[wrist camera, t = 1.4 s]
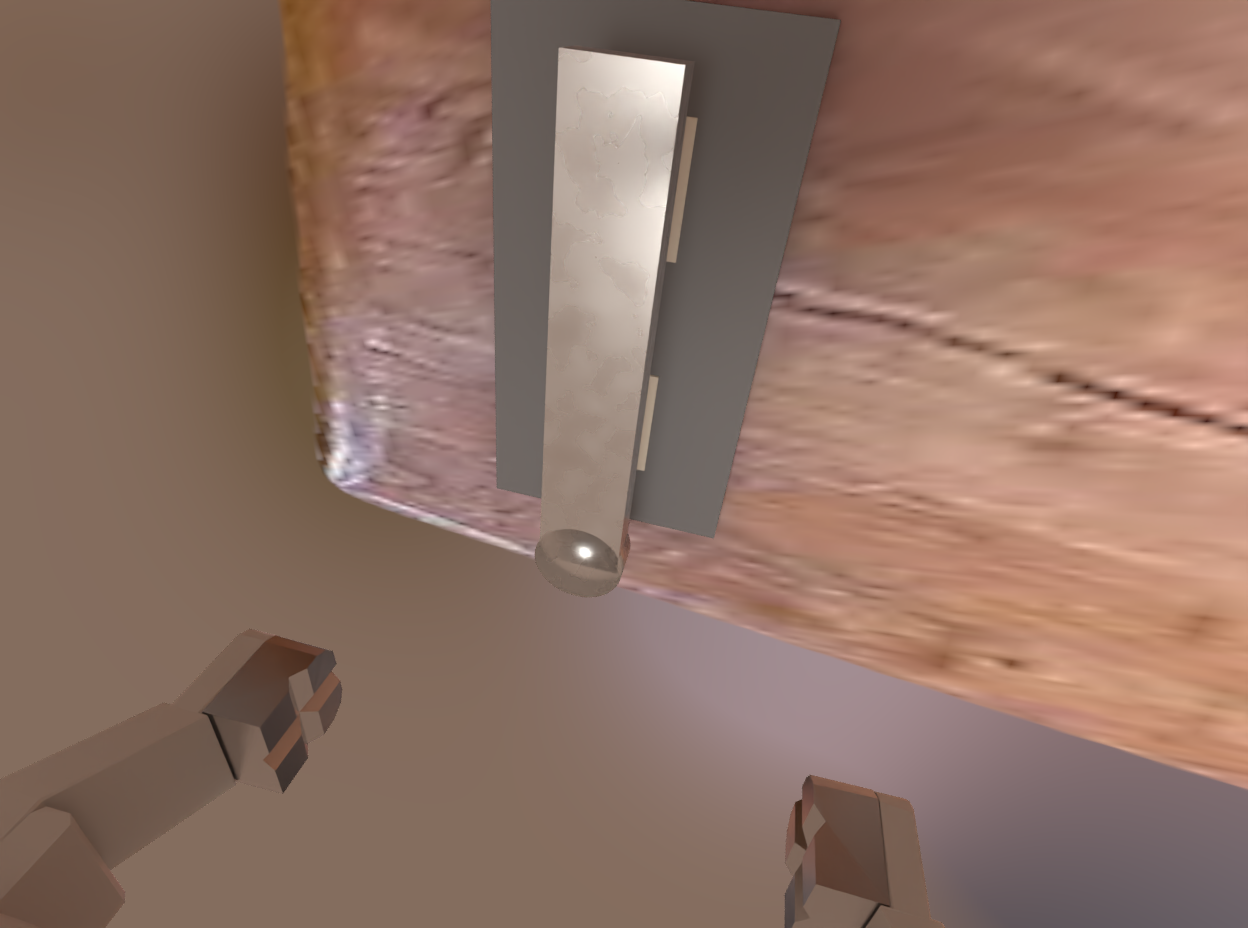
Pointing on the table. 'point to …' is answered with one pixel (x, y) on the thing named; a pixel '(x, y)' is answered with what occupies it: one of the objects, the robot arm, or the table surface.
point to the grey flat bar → (604, 299)
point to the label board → (700, 231)
